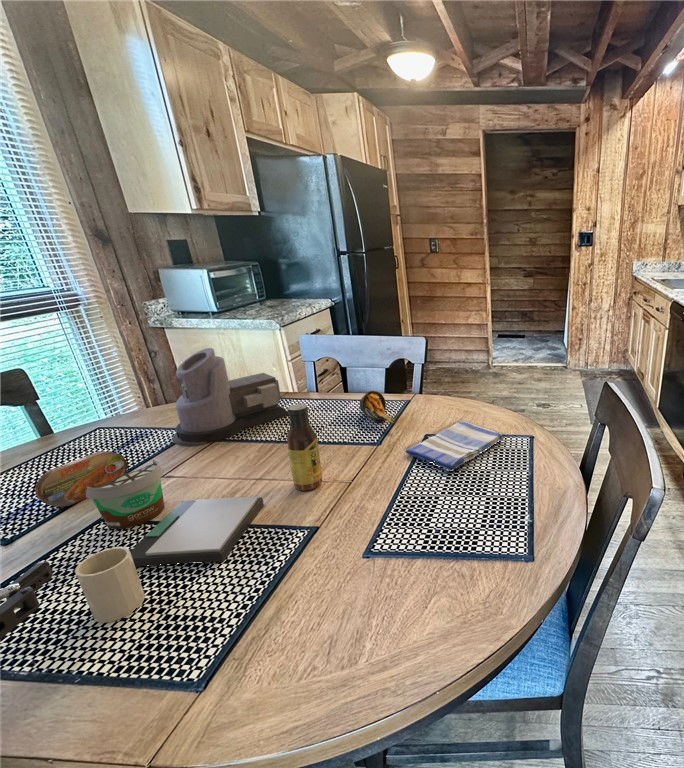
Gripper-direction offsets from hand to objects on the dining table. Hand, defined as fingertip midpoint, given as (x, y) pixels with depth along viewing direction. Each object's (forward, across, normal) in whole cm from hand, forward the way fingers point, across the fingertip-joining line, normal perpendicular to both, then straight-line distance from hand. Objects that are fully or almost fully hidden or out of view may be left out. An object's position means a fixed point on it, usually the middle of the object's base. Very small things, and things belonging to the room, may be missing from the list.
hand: (6, 569), depth 49 cm
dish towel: (+60, -53, +18) cm, 82 cm away
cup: (+11, 0, +18) cm, 21 cm away
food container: (+34, +11, +18) cm, 40 cm away
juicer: (+79, +15, +18) cm, 83 cm away
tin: (+44, +29, +18) cm, 56 cm away
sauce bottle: (+44, -18, +18) cm, 51 cm away
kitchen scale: (+28, -3, +18) cm, 34 cm away
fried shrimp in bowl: (+80, -28, +18) cm, 87 cm away
